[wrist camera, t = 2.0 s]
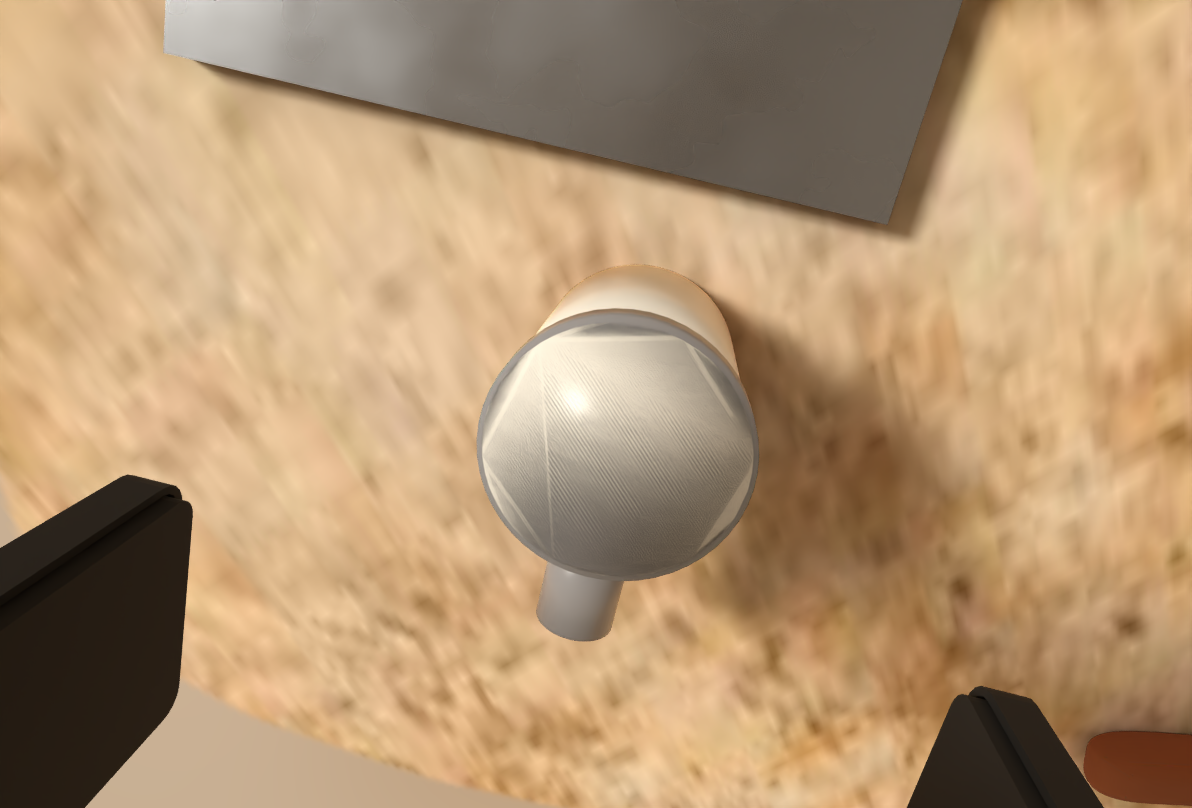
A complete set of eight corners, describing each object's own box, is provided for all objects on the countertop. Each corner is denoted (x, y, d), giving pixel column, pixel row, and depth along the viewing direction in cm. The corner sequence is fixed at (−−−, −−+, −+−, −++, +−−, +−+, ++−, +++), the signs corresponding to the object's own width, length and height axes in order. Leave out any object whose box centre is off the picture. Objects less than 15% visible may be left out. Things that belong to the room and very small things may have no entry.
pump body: (761, 287, 21) (795, 356, 15) (686, 544, 24) (687, 701, 17) (560, 239, 22) (504, 285, 15) (506, 499, 24) (438, 637, 17)
